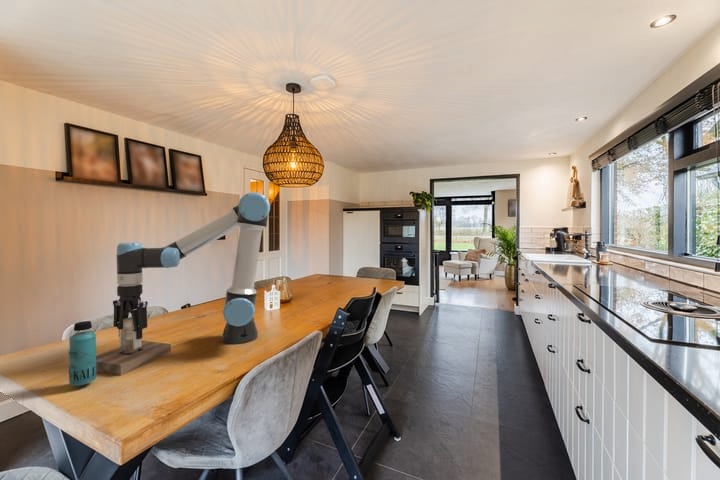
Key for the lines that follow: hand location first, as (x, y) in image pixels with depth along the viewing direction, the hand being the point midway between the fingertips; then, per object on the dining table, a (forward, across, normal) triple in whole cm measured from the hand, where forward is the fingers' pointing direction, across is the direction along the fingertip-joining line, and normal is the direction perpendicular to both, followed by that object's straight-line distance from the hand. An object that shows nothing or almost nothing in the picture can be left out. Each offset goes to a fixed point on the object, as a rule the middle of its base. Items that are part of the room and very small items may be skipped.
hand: (130, 346), depth 114 cm
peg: (+6, 0, 0) cm, 6 cm away
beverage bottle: (+6, +4, -18) cm, 19 cm away
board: (+5, 0, 0) cm, 5 cm away
